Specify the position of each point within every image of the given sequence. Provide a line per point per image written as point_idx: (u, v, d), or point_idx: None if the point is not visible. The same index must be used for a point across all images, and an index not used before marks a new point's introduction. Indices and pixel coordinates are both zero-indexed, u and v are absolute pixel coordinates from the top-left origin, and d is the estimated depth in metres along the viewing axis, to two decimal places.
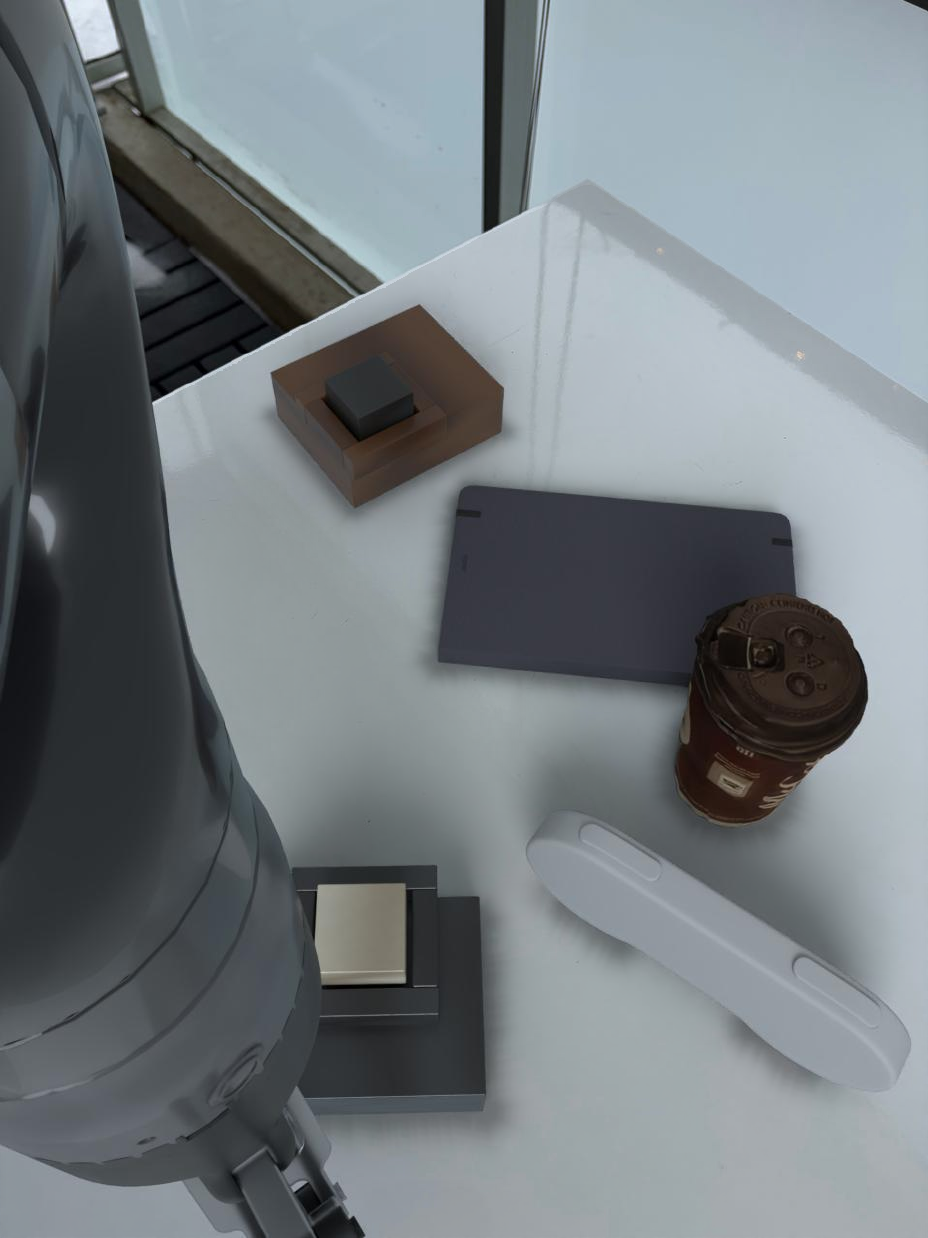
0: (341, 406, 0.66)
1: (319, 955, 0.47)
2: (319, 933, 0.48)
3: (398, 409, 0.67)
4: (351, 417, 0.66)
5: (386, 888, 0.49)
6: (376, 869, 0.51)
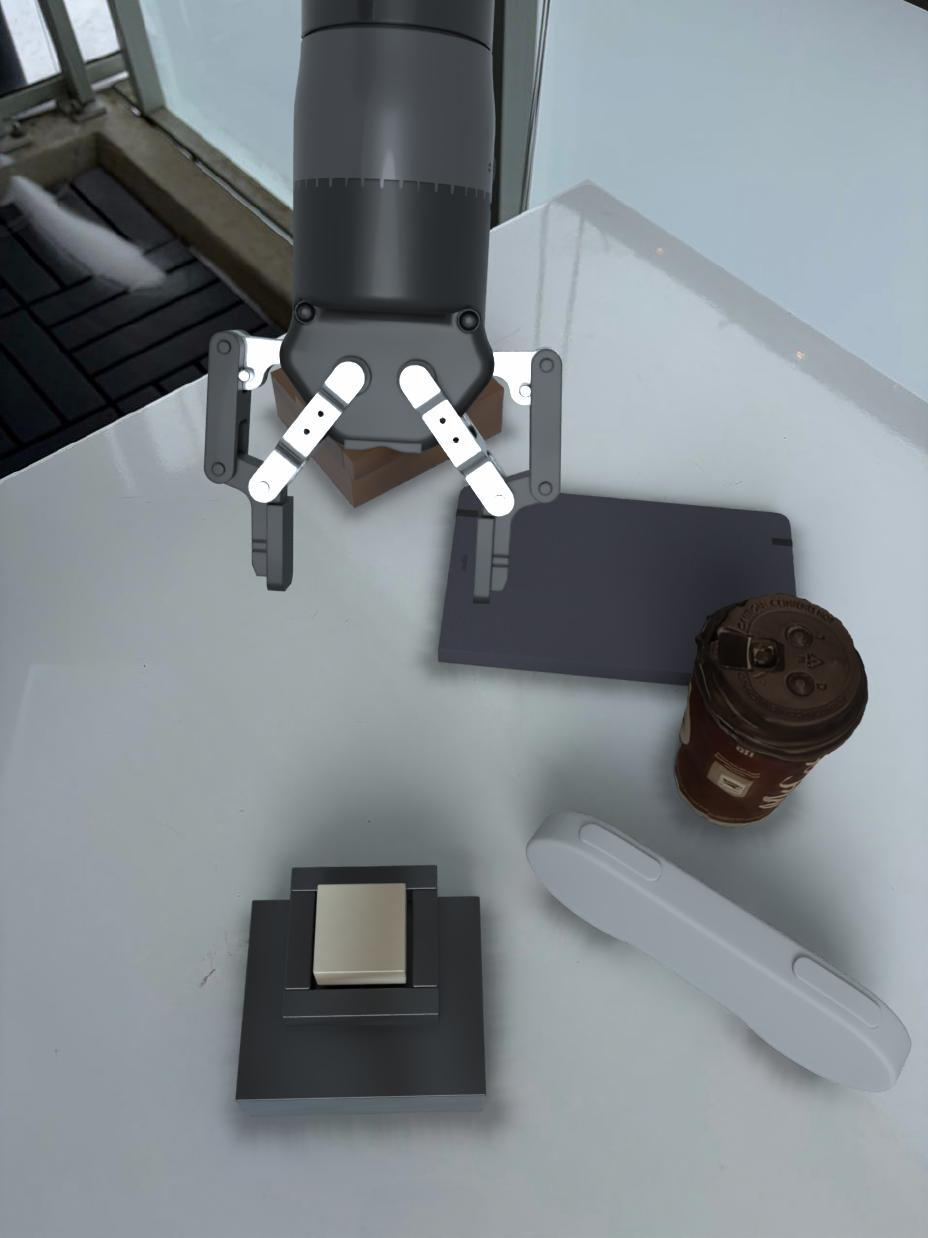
0: None
1: (319, 955, 0.47)
2: (319, 933, 0.48)
3: None
4: None
5: (386, 888, 0.49)
6: (376, 869, 0.51)
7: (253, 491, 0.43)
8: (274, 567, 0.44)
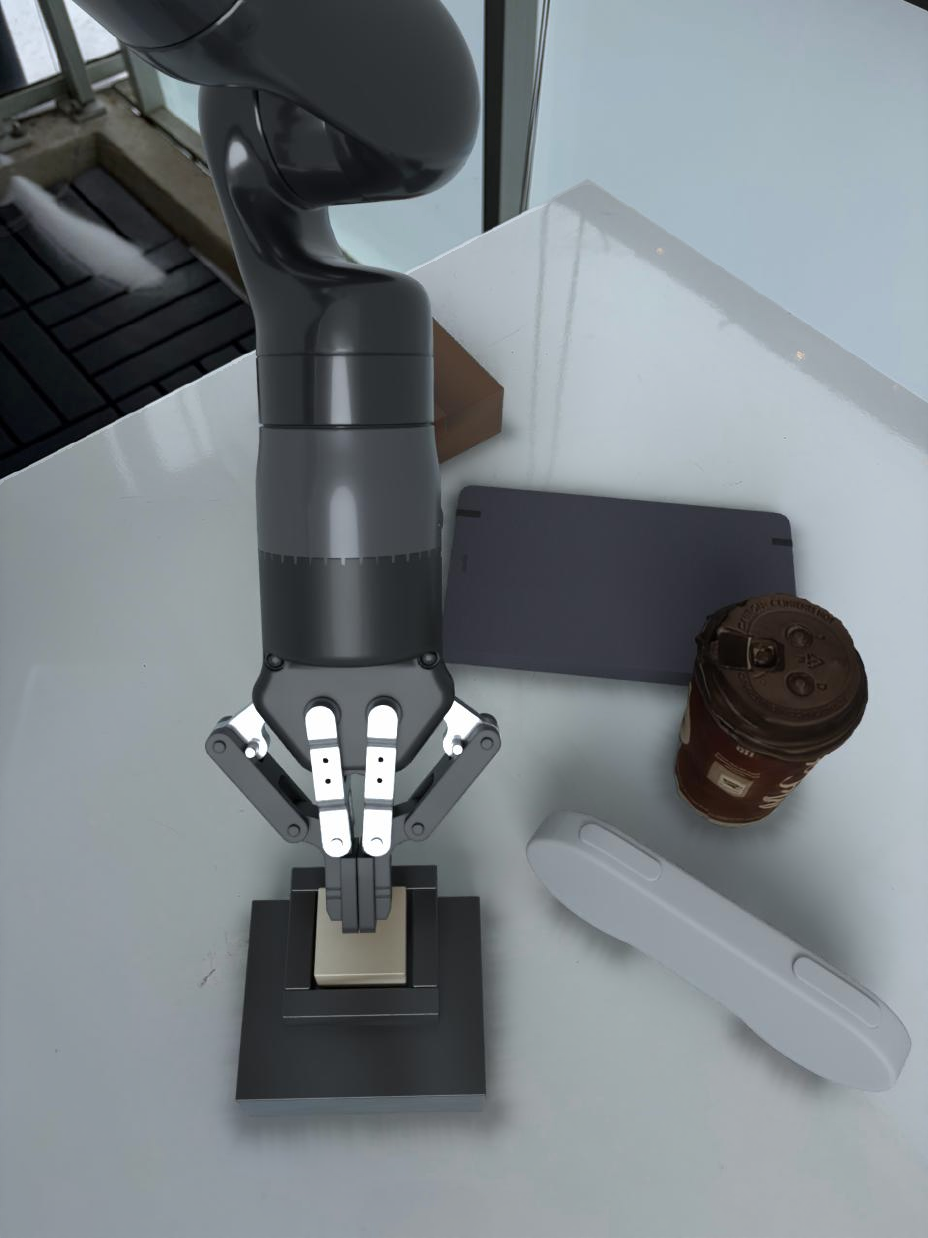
0: None
1: (320, 958, 0.48)
2: (320, 936, 0.48)
3: None
4: None
5: None
6: None
7: (327, 848, 0.46)
8: (349, 914, 0.47)
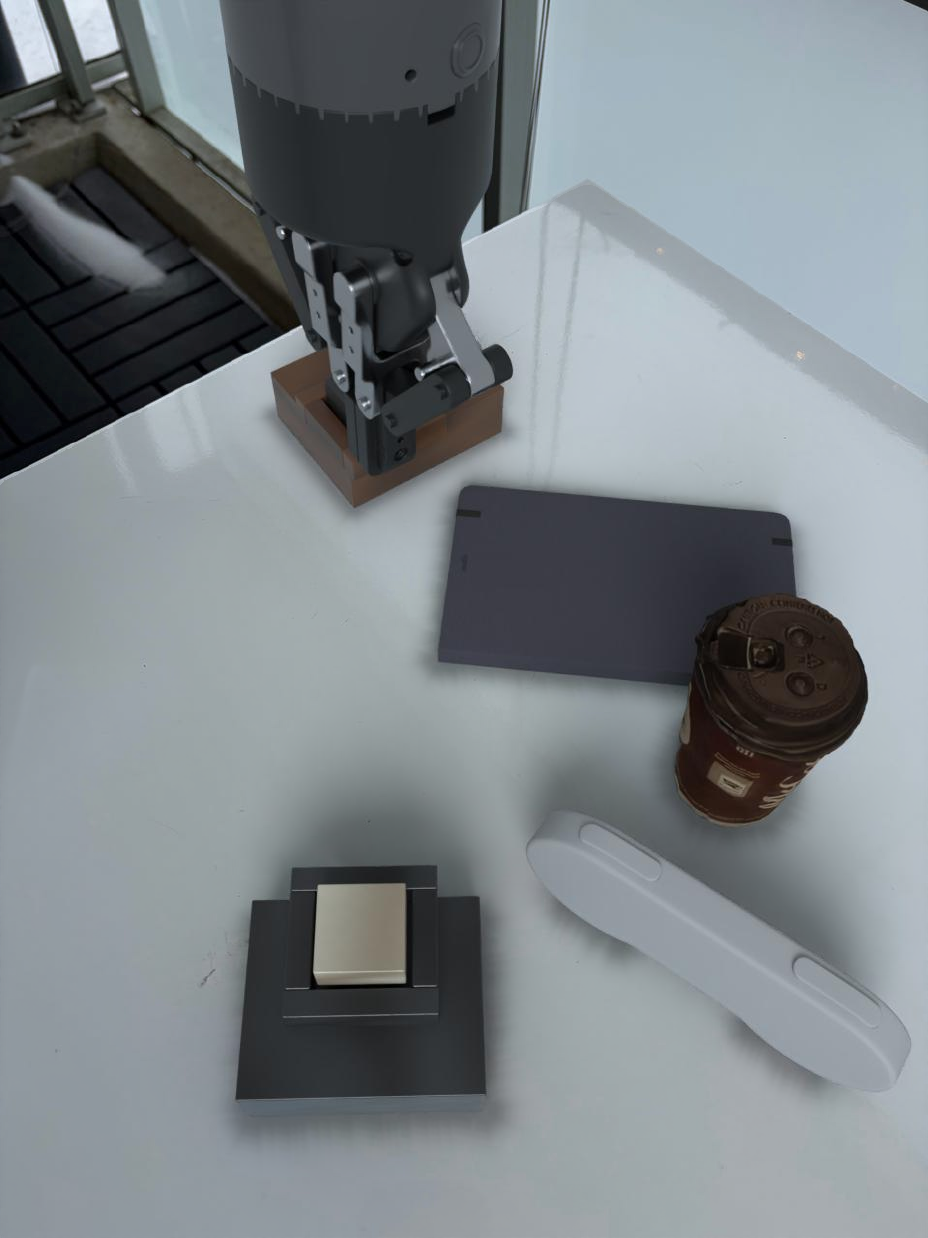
0: (341, 406, 0.66)
1: (319, 955, 0.47)
2: (319, 933, 0.48)
3: None
4: None
5: (386, 888, 0.49)
6: (376, 869, 0.51)
7: None
8: (352, 444, 0.43)
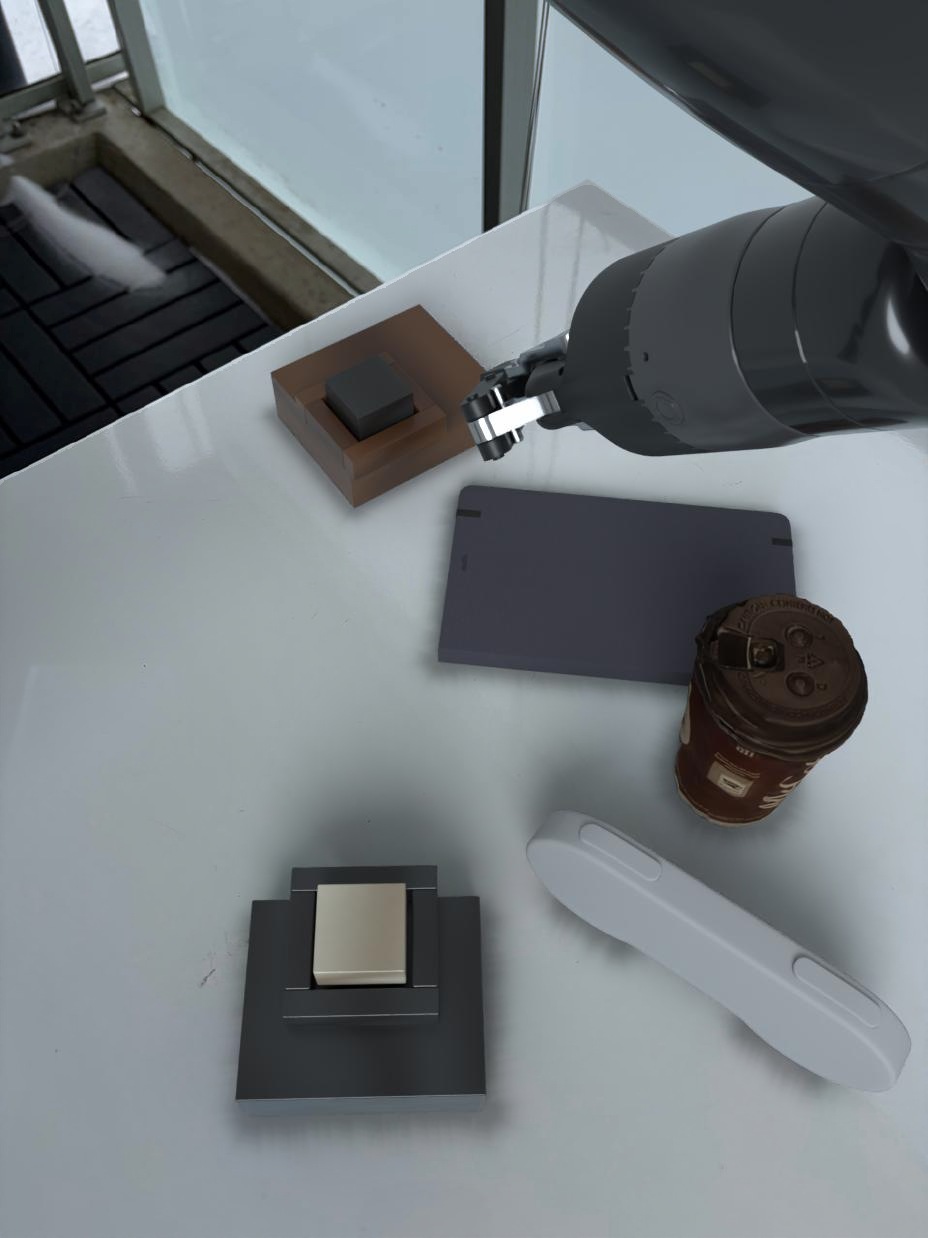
0: (341, 406, 0.66)
1: (319, 955, 0.47)
2: (319, 933, 0.48)
3: (398, 409, 0.67)
4: (351, 417, 0.66)
5: (386, 888, 0.49)
6: (376, 869, 0.51)
7: None
8: (506, 362, 0.51)
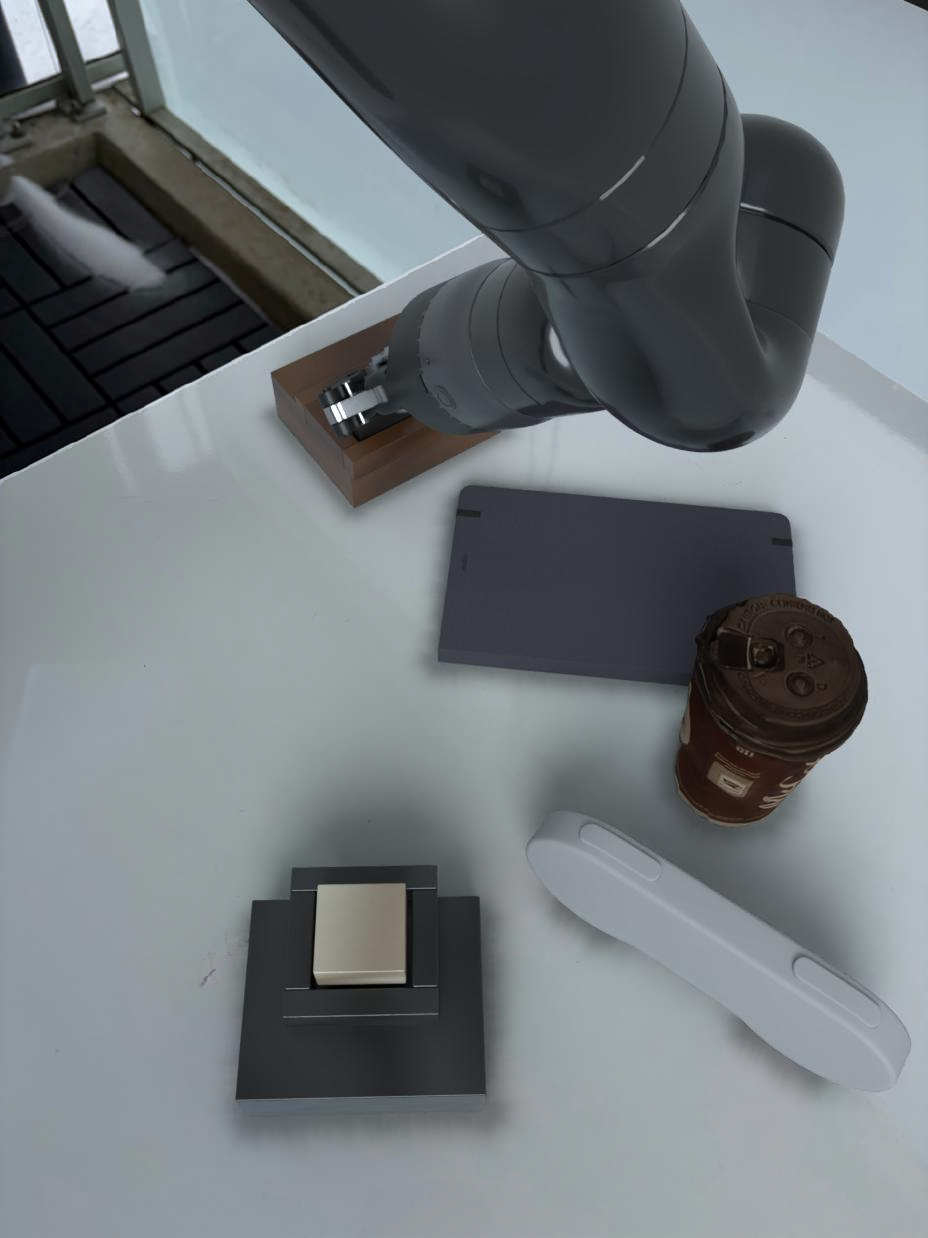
0: None
1: (319, 955, 0.47)
2: (319, 933, 0.48)
3: (398, 416, 0.67)
4: None
5: (386, 888, 0.49)
6: (376, 869, 0.51)
7: None
8: None
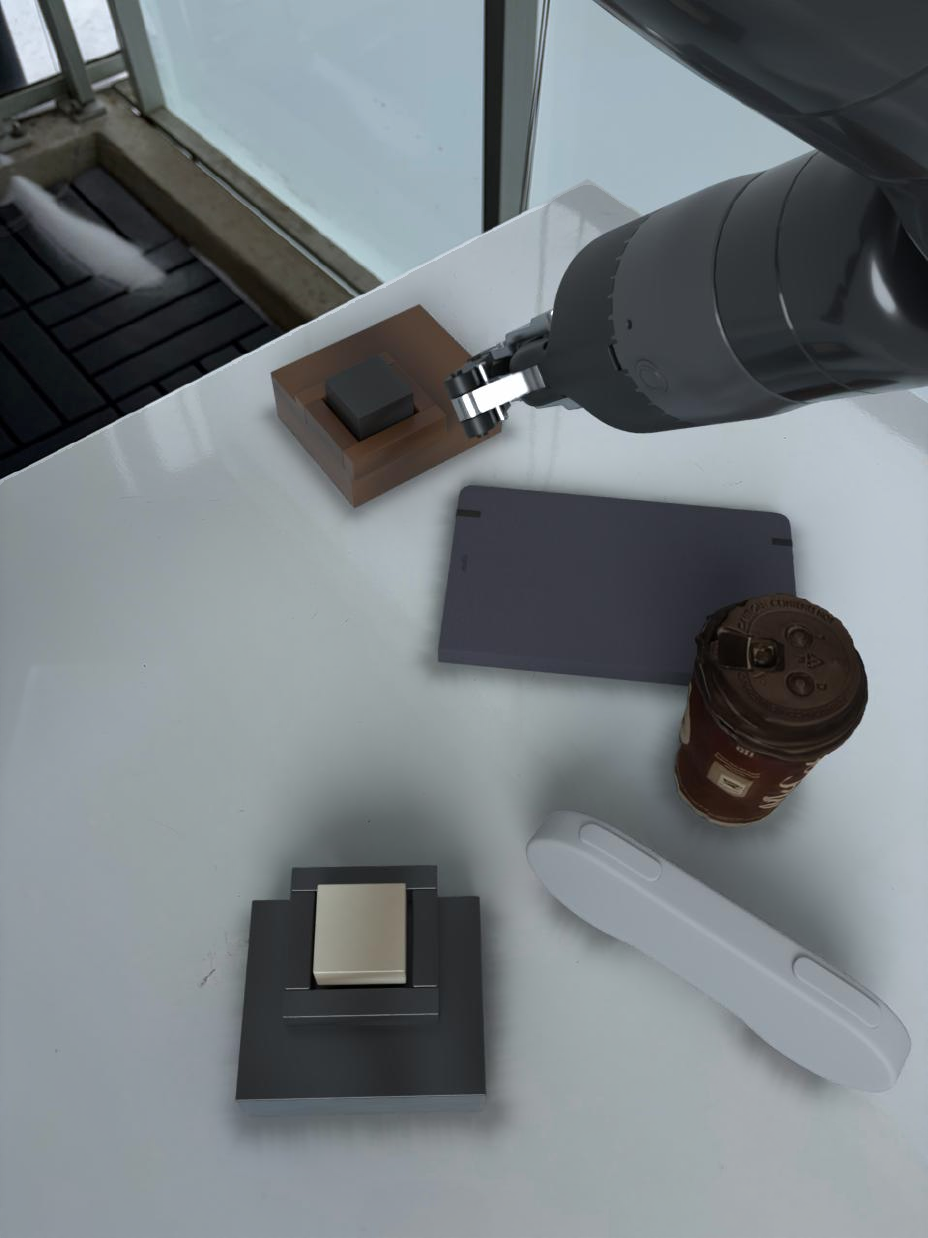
0: (341, 406, 0.66)
1: (319, 955, 0.47)
2: (319, 933, 0.48)
3: (398, 409, 0.67)
4: (351, 417, 0.66)
5: (386, 888, 0.49)
6: (376, 869, 0.51)
7: None
8: (493, 347, 0.51)
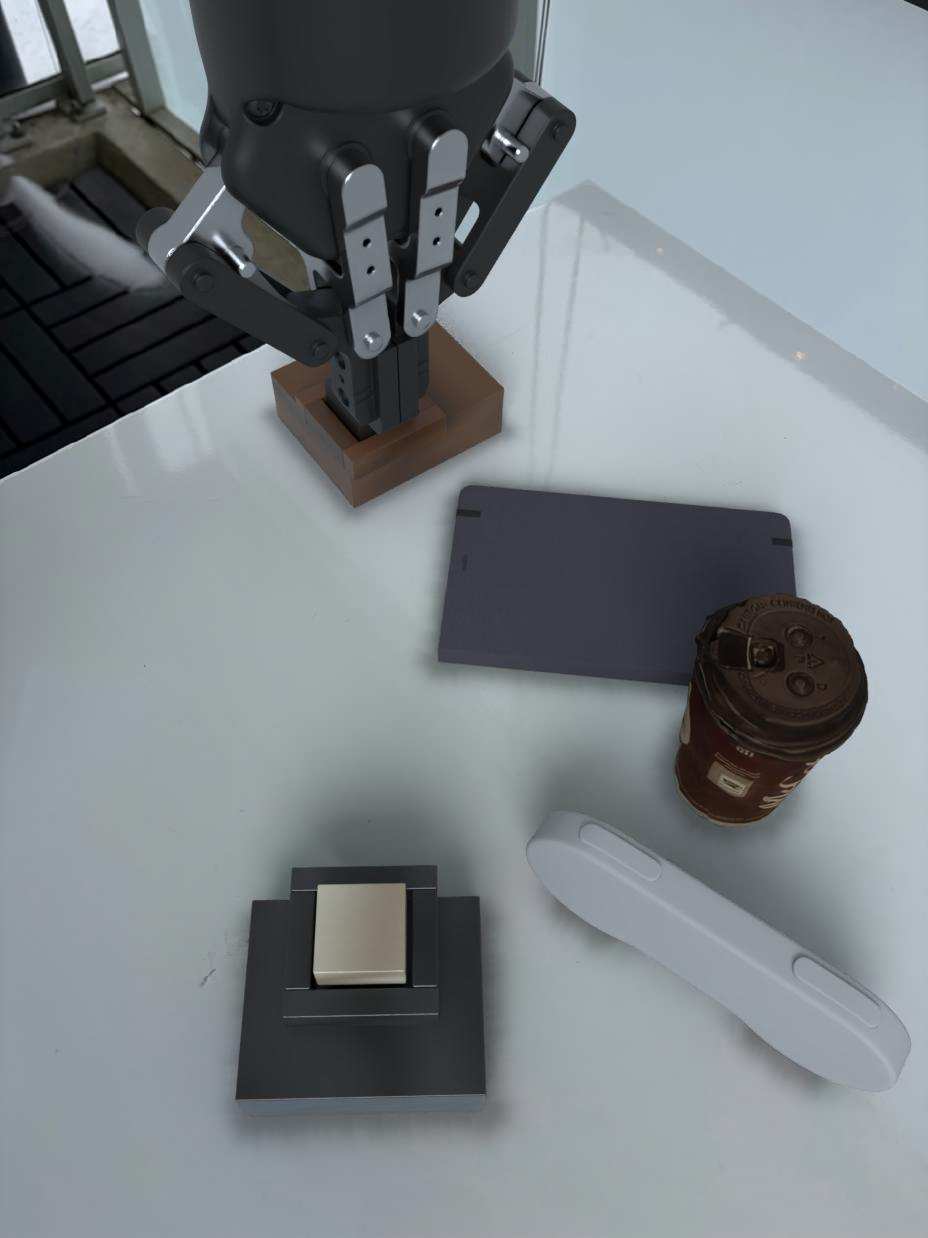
0: (341, 406, 0.66)
1: (319, 955, 0.47)
2: (319, 933, 0.48)
3: None
4: (351, 417, 0.66)
5: (386, 888, 0.49)
6: (376, 869, 0.51)
7: None
8: None
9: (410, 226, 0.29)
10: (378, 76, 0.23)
